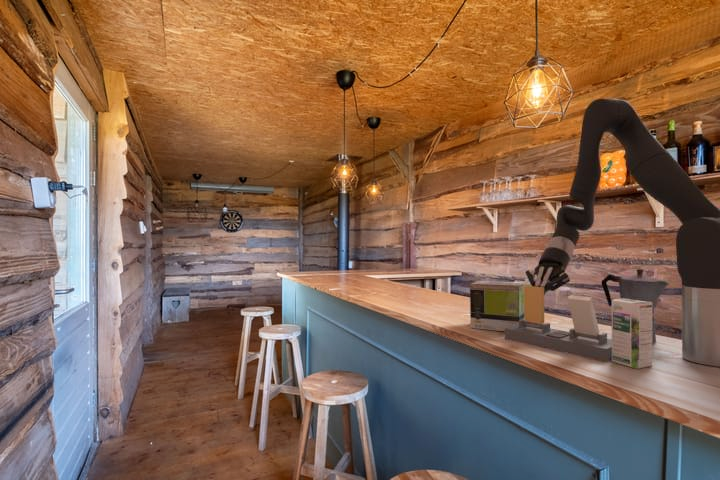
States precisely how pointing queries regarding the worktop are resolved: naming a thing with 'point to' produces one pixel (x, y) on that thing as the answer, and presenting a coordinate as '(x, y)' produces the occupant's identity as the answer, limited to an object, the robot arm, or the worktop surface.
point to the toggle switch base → (562, 341)
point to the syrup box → (632, 333)
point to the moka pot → (637, 290)
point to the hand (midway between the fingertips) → (535, 299)
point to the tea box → (496, 304)
